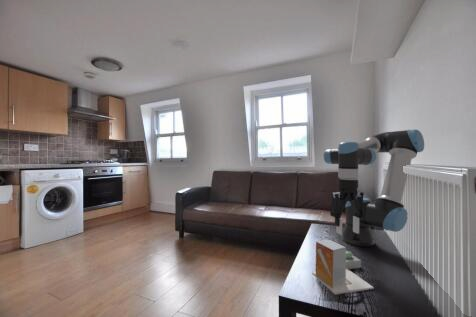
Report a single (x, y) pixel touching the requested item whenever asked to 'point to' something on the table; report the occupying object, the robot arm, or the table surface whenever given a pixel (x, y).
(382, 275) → the table surface
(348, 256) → the button
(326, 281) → the small box
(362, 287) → the sheet
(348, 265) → the button box
